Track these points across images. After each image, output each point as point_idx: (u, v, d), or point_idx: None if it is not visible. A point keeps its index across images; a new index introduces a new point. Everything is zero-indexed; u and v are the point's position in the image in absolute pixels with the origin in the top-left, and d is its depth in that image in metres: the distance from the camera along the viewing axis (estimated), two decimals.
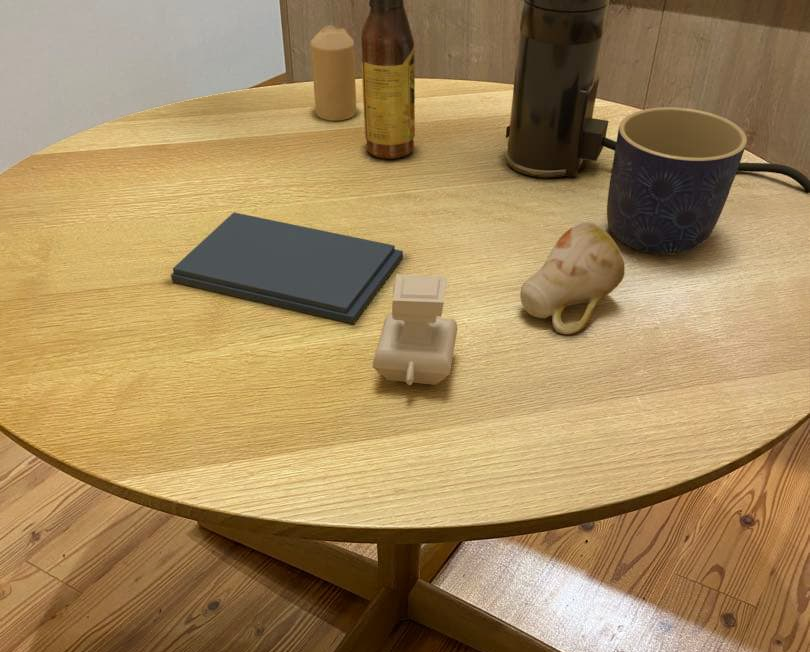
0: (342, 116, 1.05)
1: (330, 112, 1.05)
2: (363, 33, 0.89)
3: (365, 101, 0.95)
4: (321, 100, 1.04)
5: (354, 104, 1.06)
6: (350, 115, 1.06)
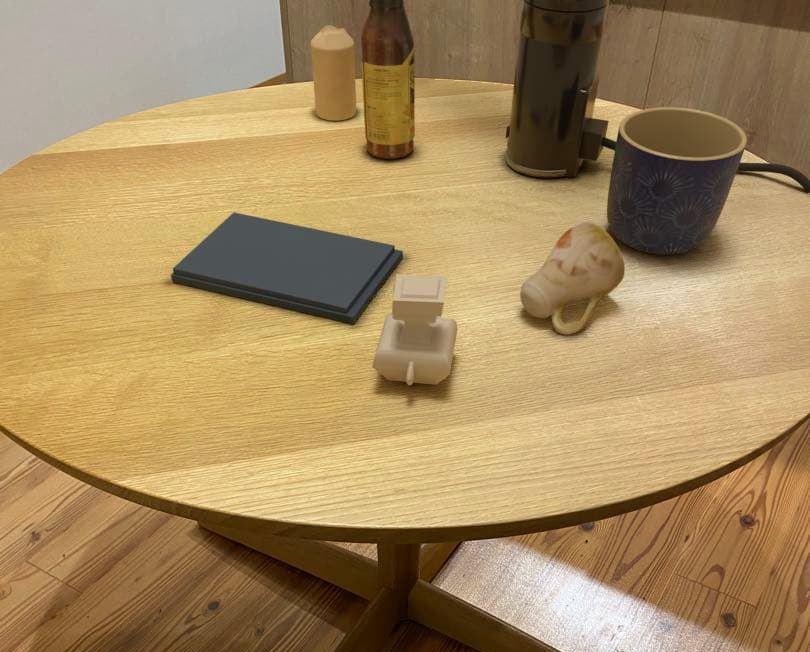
0: (342, 116, 1.05)
1: (330, 112, 1.05)
2: (363, 33, 0.89)
3: (365, 101, 0.95)
4: (321, 100, 1.04)
5: (354, 104, 1.06)
6: (350, 115, 1.06)
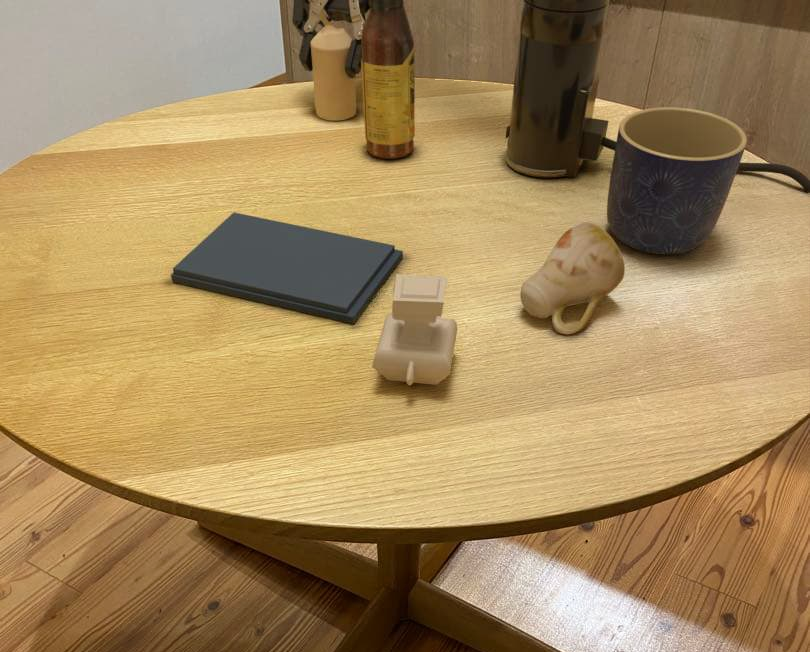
0: (342, 116, 1.05)
1: (330, 112, 1.05)
2: (363, 33, 0.89)
3: (365, 101, 0.95)
4: (321, 100, 1.04)
5: (354, 104, 1.06)
6: (350, 115, 1.06)
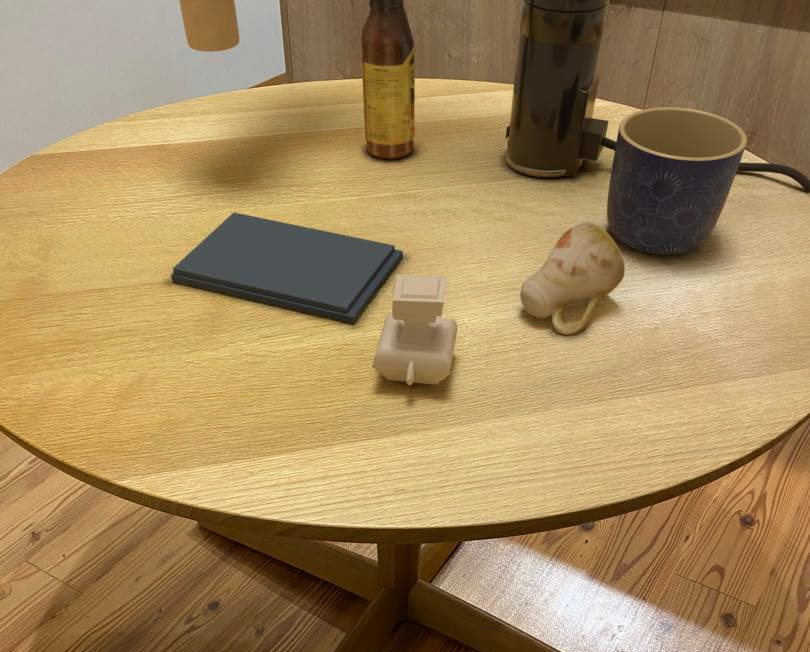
0: (218, 46, 0.82)
1: (202, 41, 0.81)
2: (363, 33, 0.89)
3: (365, 101, 0.95)
4: (190, 24, 0.81)
5: (234, 31, 0.82)
6: (230, 45, 0.83)
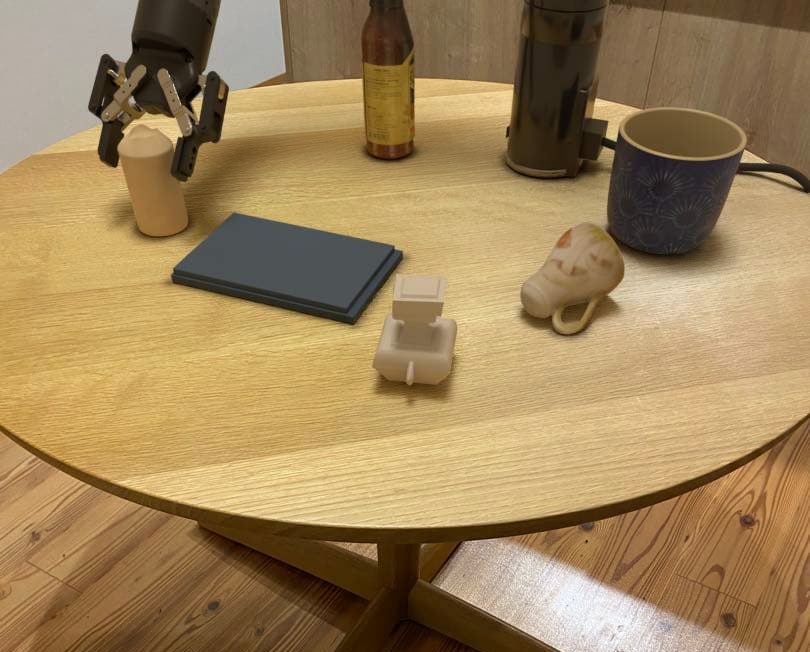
0: (166, 232, 0.85)
1: (151, 227, 0.85)
2: (363, 33, 0.89)
3: (365, 101, 0.95)
4: (139, 213, 0.84)
5: (182, 216, 0.86)
6: (179, 229, 0.86)
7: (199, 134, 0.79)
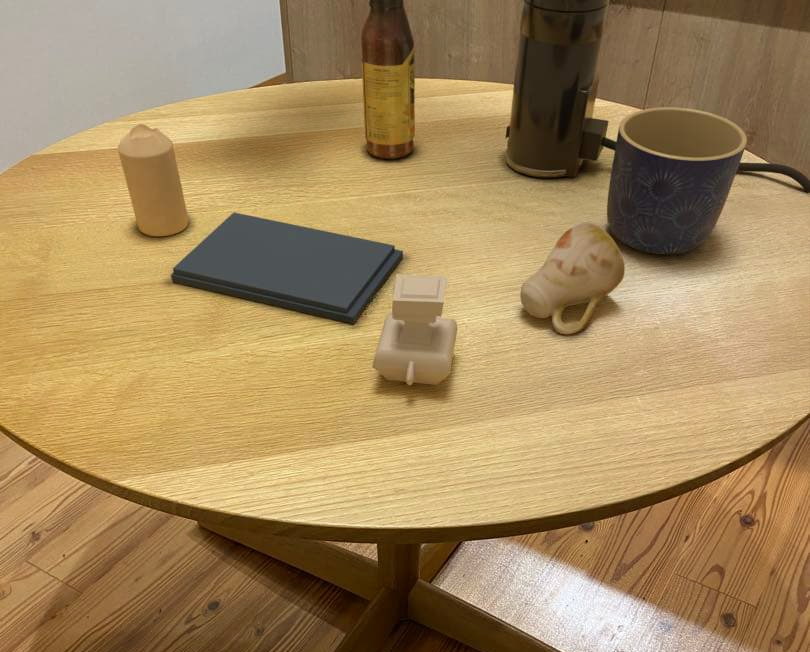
0: (166, 232, 0.85)
1: (151, 227, 0.85)
2: (363, 33, 0.89)
3: (365, 101, 0.95)
4: (139, 213, 0.84)
5: (182, 216, 0.86)
6: (179, 229, 0.86)
7: None
